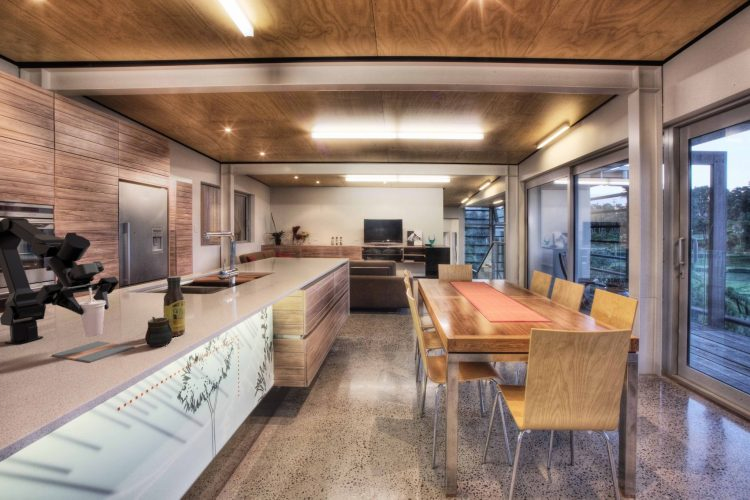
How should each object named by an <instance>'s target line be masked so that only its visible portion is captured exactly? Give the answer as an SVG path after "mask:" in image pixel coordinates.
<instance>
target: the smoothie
mask: <svg viewBox="0 0 750 500" xmlns="http://www.w3.org/2000/svg"><path fill="white" fill-rule="evenodd" d="M88 296H89V300H87V301H82V302H78V303H79V305H80V306H81V308H82V309H83V311H84V313H83V315H80V317H81V321H82V326H83V329H84V334H85V336H86V337H88V338H93V337H98V336H102V334H103V331H104V330H103V329H104V318H105V309H104V307H105V305H106V301H105V300H95V299H94V300H93V291H92V290H91V288H89V292H88Z"/></svg>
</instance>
